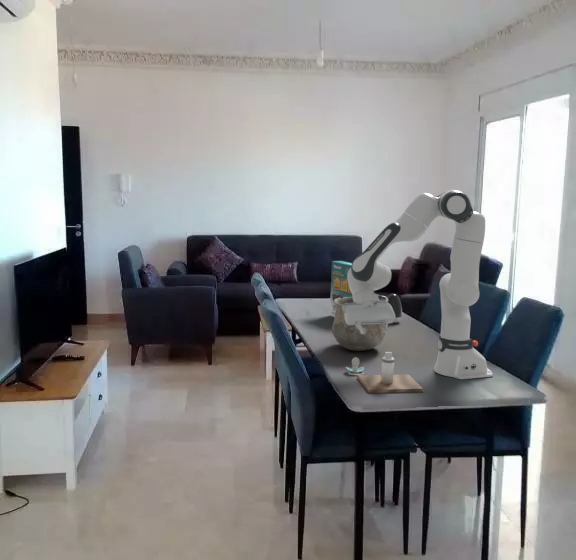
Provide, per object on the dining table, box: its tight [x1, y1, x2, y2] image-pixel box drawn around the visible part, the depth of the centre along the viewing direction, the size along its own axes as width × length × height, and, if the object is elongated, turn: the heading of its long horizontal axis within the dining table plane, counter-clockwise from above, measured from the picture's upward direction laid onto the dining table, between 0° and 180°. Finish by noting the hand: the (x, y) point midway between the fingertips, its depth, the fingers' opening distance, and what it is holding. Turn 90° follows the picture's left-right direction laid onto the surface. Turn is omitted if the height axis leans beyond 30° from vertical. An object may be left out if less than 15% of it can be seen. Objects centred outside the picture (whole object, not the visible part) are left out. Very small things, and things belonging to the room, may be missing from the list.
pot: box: [331, 297, 386, 352], centre depth 275 cm, size 25×24×21 cm
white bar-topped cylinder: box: [380, 351, 395, 384], centre depth 228 cm, size 5×5×11 cm
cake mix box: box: [329, 260, 353, 318], centre depth 330 cm, size 22×6×30 cm, turn 34°
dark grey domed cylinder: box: [385, 293, 403, 324], centre depth 328 cm, size 10×10×15 cm
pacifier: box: [345, 356, 365, 377], centre depth 241 cm, size 7×6×6 cm
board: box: [357, 374, 424, 394], centre depth 230 cm, size 20×16×1 cm
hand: (374, 332), depth 238 cm, fingers open, 8 cm apart
